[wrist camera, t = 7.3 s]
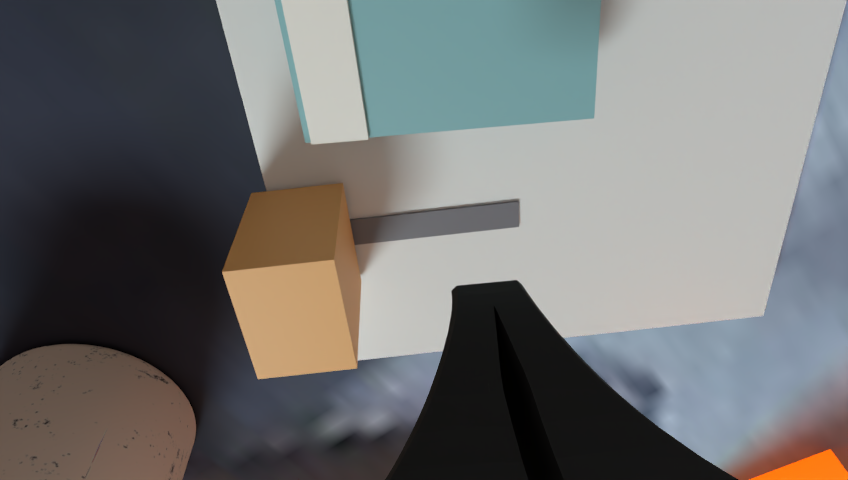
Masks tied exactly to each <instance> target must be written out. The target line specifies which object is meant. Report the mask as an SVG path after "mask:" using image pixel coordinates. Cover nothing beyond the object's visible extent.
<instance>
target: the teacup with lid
mask: <svg viewBox="0 0 848 480" xmlns="http://www.w3.org/2000/svg"><path fill="white" fill-rule="evenodd" d="M195 435H196V421H195V416H194V412H193V409H192V407H191V405H190V403H189V401H188V399H187V398H186V396H185V395H184V393H183V392H182V391H181V389H180V388H179V387H178V386H177V385H176V384H175V383H174V382H173V381H172V380H171V379H170V378H169V377H168V376H166V375H165V374H164V373H162V372H161V371H160V370H158V369H157V368H155V367H154V366H152V365H150V364H149V363H147V362H145V361H143V360H141V359H139V358H136V357H134V356H132V355H129V354H126V353H123V352H120V351H117V350H113V349H110V348H105V347H100V346H94V345H86V344H57V345H50V346H43V347H39V348H35V349H32V350H29V351H26V352H23V353H21V354H19V355H17V356H15V357H13V358H11V359H10V360H8V361H6V362H5V363H4V364H3V365H1V366H0V480H182V479H183V476H184V473H185V470H186V466H187V463H188V460H189V457H190V454H191V450H192V447H193V444H194V440H195Z"/></svg>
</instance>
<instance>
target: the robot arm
mask: <svg viewBox="0 0 848 480" xmlns="http://www.w3.org/2000/svg"><path fill="white" fill-rule="evenodd" d="M451 292H452V311H451V318H450V324H449V329H448V334H447V337H446V341H445V345H444V349H443V353H442V357H441V360H440V363H439V366H438V369H437V372H436V375H435V378H434V381H433V384H432V386H431V389H430V392H429V394H428V397H427V399H426V402H425V404H424V407H423V409H422V411H421V414H420V416H419V418H418V420H417V422H416V424H415V427H414V429H413V431H412V433H411V435H410V437H409V438H408V440H407V442H406V444H405V446H404V448H403V450H402V452H401V454H400V456H399V458H398V459H397V461H396V463H395V465H394V466H393V468H392V470H391V471H390V473H389V475H388V476H387V478H386V479H385V480H738V479H736V478H734V477H733V476H731V475H729V474H728V473H726V472H725V471H723V470H721V469H720V468H718V467H716V466H715V465H713V464H712V463H710V462H708V461H707V460H705V459H703V458H702V457H700V456H699V455H697V454H696V453H695V452H693V451H692V450H690V449H689V448H687V447H686V446H685V445H683V444H682V443H680V442H679V441H677V440H676V439H675V438H673V437H672V436H670V435H669V434H668V433H666V432H665V431H663V430H662V429H660V428H659V427H658V426H656V425H655V424H654V423H653V422H651V421H650V420H649V419H648V418H646V417H645V416H644V415H643V414H641V413H640V412H639V411H638V410H636V409H635V408H634V407H633V406H632V405H630V404H629V403H628V402H627V401H626V400H625V399H623V398H622V397H621V396H620V395H619V394H618V393H617V392H616V391H614V390H613V389H612V388H611V387H610V386H609V385H608V384H607V383H606V382H605V381H604V380H603V379H602V378H600V377H599V376H598V375H597V374H596V373H595V372H594V371H593V370H592V369H591V368H590V367H589V366H588V365H587V364H586V363H585V361H584V360H583V359H582V358H581V357H580V356H579V355H578V354H577V353H576V352H575V351H574V350H573V349H572V347H571V346H570V345H569V344H568V343H567V342H566V341H565V340H564V338H563V337H562V336H561V335H560V334H559V333H558V332H557V330H556V329H555V328H554V327H553V326H552V324H551V323H550V322H549V321H548V319H547V318H546V317H545V316H544V314H543V313H542V312H541V311H540V309H539V308H538V307H537V305H536V304H535V303H534V301H533V300H532V298H531V297H530V296H529V294H528V293H527V291H526V290H525V288H524V287H523V285H522V284H521V283H520V282H519V281H517V280H511V281H500V282H490V283H479V284H468V285H458V286H456V287H455V288H454V289H453V290H452V291H451Z"/></svg>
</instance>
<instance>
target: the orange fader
mask: <svg viewBox="0 0 848 480" xmlns="http://www.w3.org/2000/svg"><path fill="white" fill-rule="evenodd" d="M222 274H223V277H224V280H225V283H226V286H227V289H228V292H229V295H230V298H231V301H232V303H233V306H234V309H235V312H236V315H237V318H238V321H239V324H240V327H241V330H242V333H243V336H244V339H245V342H246V345H247V348H248V351H249V354H250V357H251V360H252V363H253V366H254V369H255V372H256V375H257V378H258V379H265V378H274V377H283V376H292V375H301V374H310V373H319V372H329V371H338V370H347V369H356V368H357V361H358V340H359V320H360V300H361V276H360V271H359V266H358V260H357V255H356V250H355V244H354V239H353V234H352V228H351V223H350V218H349V212H348V207H347V202H346V196H345V191H344V186H343V183H338V184H329V185H320V186H311V187H302V188H293V189H284V190H275V191H266V192H257V193H251V196H250V198H249V201H248V204H247V206H246V209H245V212H244V214H243V217H242V220H241V222H240V225H239V228H238V230H237V233H236V236H235V238H234V241H233V244H232V246H231V249H230V252H229V254H228V257H227V260H226V262H225V265H224V268H223V270H222Z"/></svg>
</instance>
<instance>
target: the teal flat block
mask: <svg viewBox="0 0 848 480" xmlns="http://www.w3.org/2000/svg"><path fill="white" fill-rule="evenodd" d="M274 1H275V5H276V10H277V15H278V19H279V24H280V28H281V33H282V38H283V42H284V47H285V52H286V56H287V61H288V65H289V70H290V75H291V79H292V84H293V88H294V93H295V98H296V102H297V107H298V112H299V116H300V121H301V125H302V130H303V135H304V139H305V143H311V145H313V144H325V143H336V142H348V141H360V140H369V138H370V137H381V136H393V135H405V134H417V133H428V132H440V131H452V130H464V129H476V128H487V127H499V126H511V125H523V124H534V123H546V122H558V121H570V120H581V119H593V118H594V114H595V97H596V80H597V62H598V45H599V28H600V11H601V0H274Z"/></svg>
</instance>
